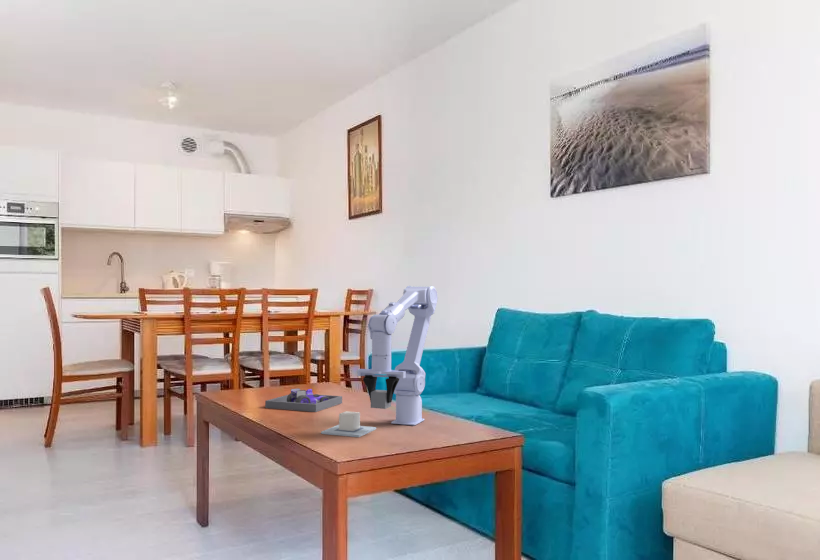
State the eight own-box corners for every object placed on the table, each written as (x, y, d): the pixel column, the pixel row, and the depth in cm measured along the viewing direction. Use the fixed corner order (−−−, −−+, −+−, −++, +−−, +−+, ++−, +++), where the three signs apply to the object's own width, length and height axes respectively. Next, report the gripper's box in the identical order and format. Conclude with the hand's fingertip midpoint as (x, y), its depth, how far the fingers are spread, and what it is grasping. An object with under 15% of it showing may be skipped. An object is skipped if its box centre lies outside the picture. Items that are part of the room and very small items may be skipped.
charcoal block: (376, 405, 195) (376, 389, 195) (391, 406, 193) (391, 390, 193) (370, 407, 191) (370, 391, 191) (385, 408, 189) (385, 392, 189)
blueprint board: (339, 426, 199) (339, 423, 199) (376, 429, 195) (376, 426, 195) (321, 433, 188) (321, 431, 188) (359, 437, 184) (359, 434, 184)
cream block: (345, 426, 195) (345, 411, 195) (359, 428, 193) (360, 412, 193) (338, 429, 191) (339, 413, 191) (353, 431, 189) (353, 414, 189)
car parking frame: (294, 399, 248) (294, 392, 248) (342, 403, 241) (342, 396, 241) (265, 407, 230) (265, 400, 230) (315, 412, 223) (316, 404, 223)
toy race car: (336, 406, 236) (336, 388, 236) (298, 410, 227) (298, 391, 227) (323, 402, 244) (323, 385, 244) (286, 406, 235) (286, 388, 235)
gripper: (353, 355, 191) (352, 402, 191) (399, 357, 186) (399, 405, 186) (363, 353, 198) (362, 398, 197) (408, 355, 193) (407, 401, 192)
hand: (380, 401), depth 192 cm, fingers closed on charcoal block, 5 cm apart
